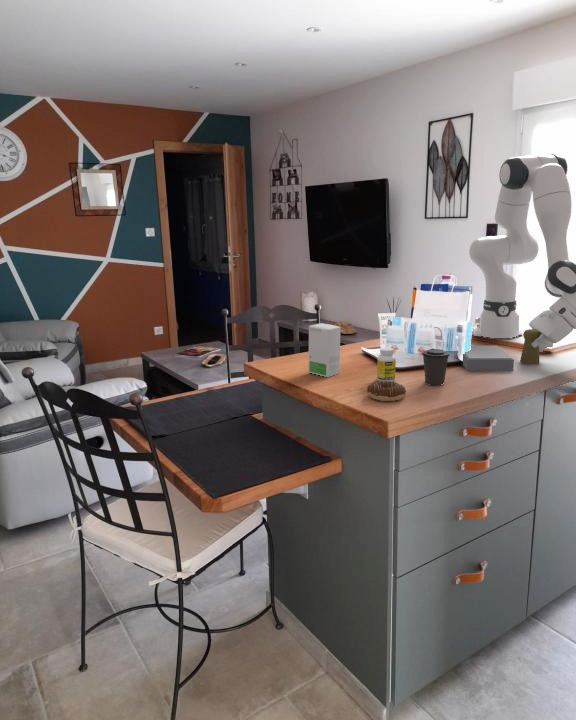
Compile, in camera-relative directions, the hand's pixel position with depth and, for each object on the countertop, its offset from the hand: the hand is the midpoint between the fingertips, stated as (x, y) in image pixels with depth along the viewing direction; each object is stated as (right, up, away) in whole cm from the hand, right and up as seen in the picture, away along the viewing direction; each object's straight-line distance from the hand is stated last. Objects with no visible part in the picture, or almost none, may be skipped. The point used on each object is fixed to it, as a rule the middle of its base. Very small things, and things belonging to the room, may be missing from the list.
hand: (529, 343), depth 183 cm
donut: (-52, -16, -28) cm, 61 cm away
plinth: (-14, -6, +2) cm, 16 cm away
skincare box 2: (+12, -2, +17) cm, 21 cm away
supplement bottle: (-49, -12, -12) cm, 52 cm away
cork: (+1, -6, +2) cm, 7 cm away
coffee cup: (-35, -12, -17) cm, 41 cm away
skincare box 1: (-67, -10, -4) cm, 68 cm away
